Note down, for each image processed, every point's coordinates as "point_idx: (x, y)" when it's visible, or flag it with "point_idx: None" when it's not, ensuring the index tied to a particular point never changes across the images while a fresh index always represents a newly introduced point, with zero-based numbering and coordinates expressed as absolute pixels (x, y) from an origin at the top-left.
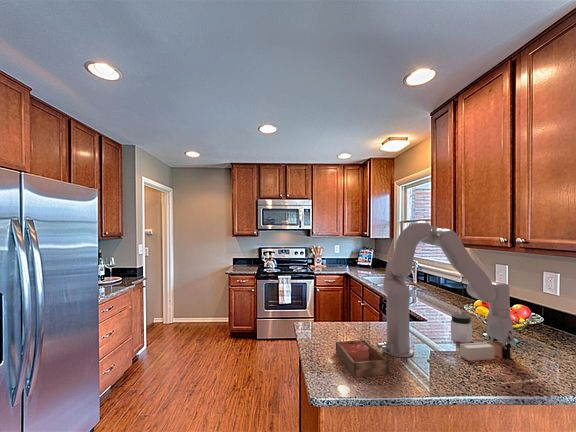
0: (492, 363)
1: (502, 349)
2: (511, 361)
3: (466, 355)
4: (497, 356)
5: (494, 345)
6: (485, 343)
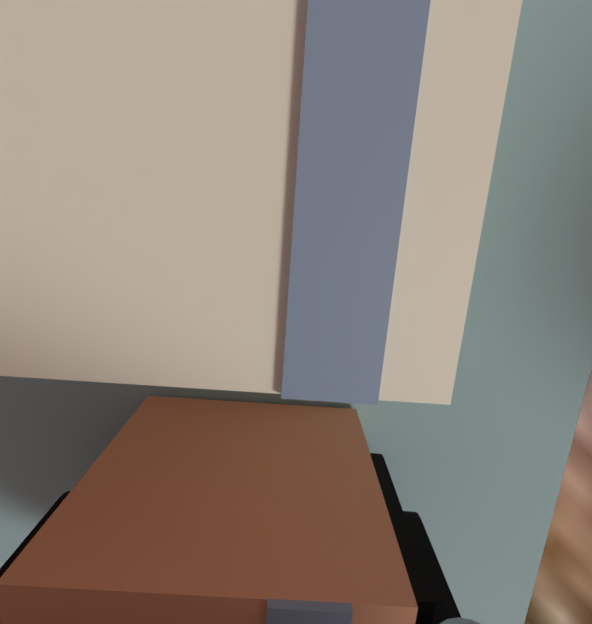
0: None
1: None
2: None
3: None
4: (208, 401)
5: (250, 542)
6: (320, 295)
